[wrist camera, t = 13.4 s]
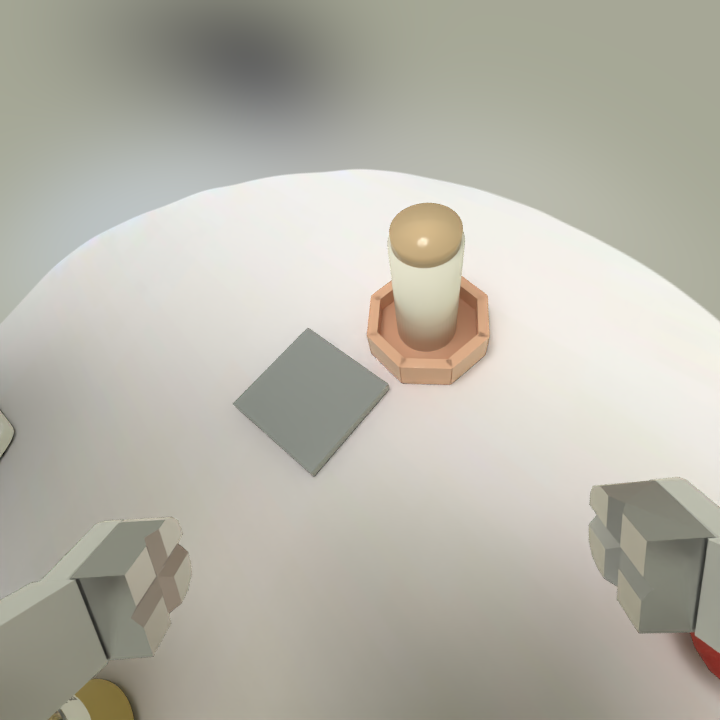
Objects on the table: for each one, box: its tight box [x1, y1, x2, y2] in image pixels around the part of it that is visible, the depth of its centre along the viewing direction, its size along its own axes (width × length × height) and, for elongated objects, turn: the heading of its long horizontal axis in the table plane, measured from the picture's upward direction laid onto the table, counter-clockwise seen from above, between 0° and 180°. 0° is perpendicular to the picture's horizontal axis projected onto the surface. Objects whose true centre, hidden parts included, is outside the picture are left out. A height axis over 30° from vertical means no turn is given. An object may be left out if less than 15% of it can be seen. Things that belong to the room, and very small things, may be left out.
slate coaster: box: [233, 328, 389, 476], centre depth 35 cm, size 9×9×1 cm
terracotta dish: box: [367, 276, 489, 385], centre depth 35 cm, size 9×9×3 cm
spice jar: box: [387, 203, 465, 352], centre depth 31 cm, size 5×5×11 cm
